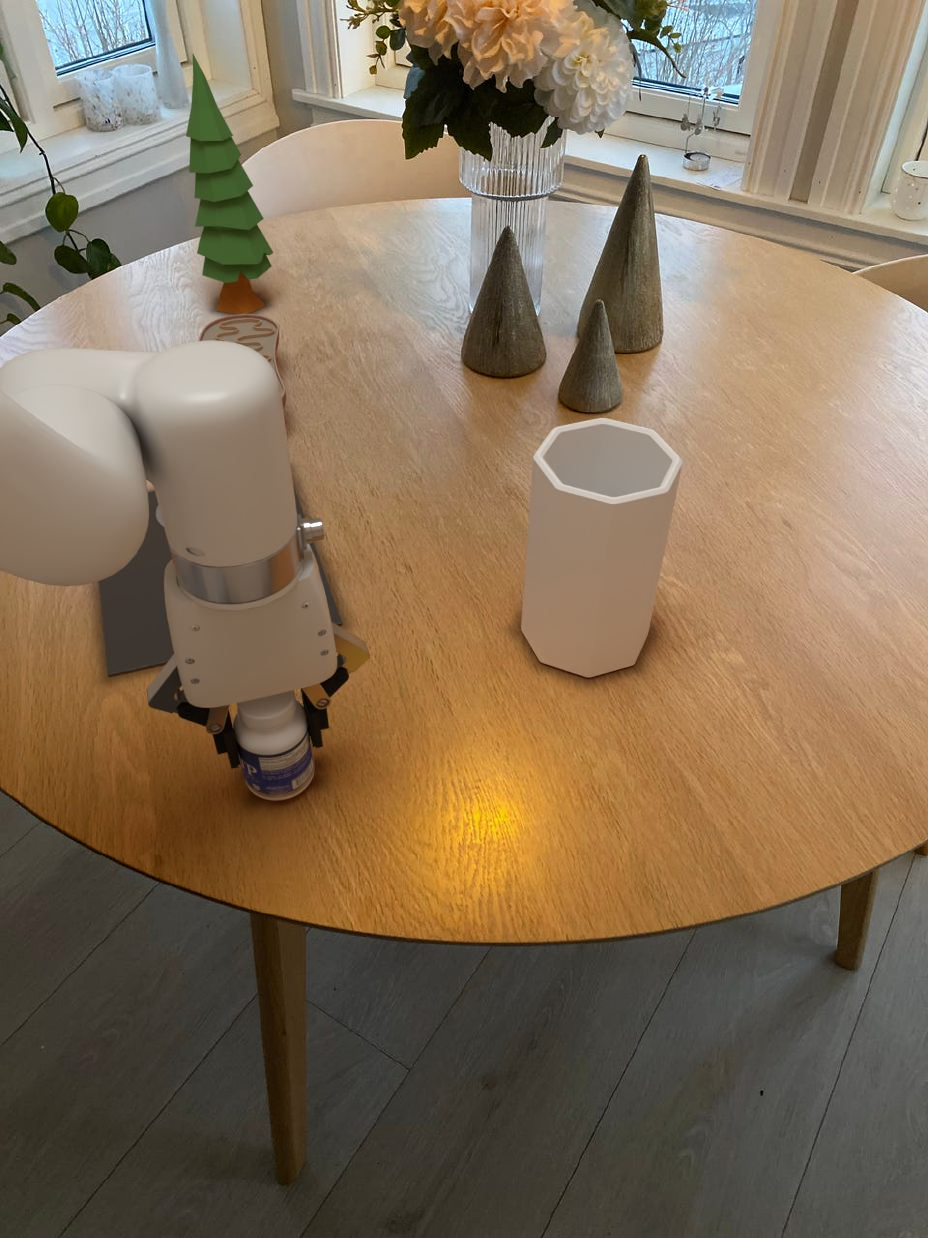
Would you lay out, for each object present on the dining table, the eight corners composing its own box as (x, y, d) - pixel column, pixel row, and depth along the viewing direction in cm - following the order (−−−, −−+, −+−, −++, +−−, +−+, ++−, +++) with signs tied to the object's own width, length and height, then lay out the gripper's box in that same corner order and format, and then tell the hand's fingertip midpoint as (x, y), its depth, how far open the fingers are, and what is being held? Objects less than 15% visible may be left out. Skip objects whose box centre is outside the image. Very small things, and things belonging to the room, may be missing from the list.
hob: (108, 676, 80) (107, 673, 80) (91, 504, 97) (90, 500, 97) (342, 625, 85) (342, 621, 84) (287, 469, 102) (286, 465, 101)
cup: (520, 588, 88) (532, 414, 76) (641, 591, 88) (673, 417, 75) (521, 677, 80) (535, 499, 68) (654, 681, 80) (693, 503, 67)
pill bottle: (237, 758, 73) (218, 679, 67) (304, 738, 75) (291, 659, 69) (254, 812, 70) (236, 734, 64) (324, 790, 71) (313, 711, 65)
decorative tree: (212, 290, 132) (168, 42, 111) (281, 287, 133) (250, 41, 112) (206, 323, 125) (158, 65, 104) (279, 320, 126) (245, 64, 105)
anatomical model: (293, 449, 104) (287, 409, 101) (200, 458, 103) (191, 418, 100) (282, 348, 121) (277, 310, 117) (201, 354, 119) (194, 316, 116)
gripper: (361, 490, 62) (375, 680, 74) (85, 539, 58) (148, 732, 70) (392, 562, 57) (401, 754, 69) (91, 622, 53) (158, 814, 65)
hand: (273, 741), depth 70 cm, fingers closed on pill bottle, 5 cm apart
